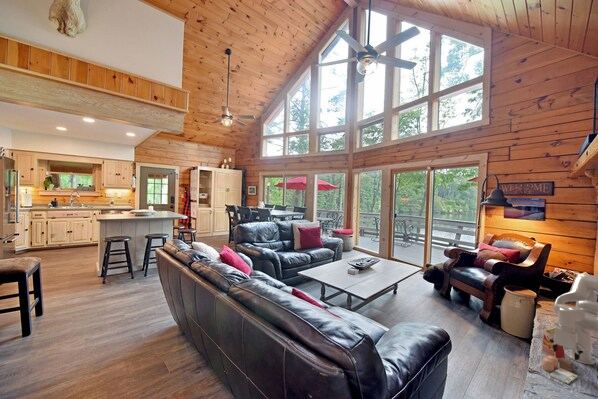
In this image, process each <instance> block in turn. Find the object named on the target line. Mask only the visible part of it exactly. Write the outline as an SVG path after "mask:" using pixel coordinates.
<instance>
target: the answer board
mask: <svg viewBox="0 0 598 399" xmlns="http://www.w3.org/2000/svg"><path fill="white" fill-rule="evenodd" d="M549 376H550V377H552V378H554V379H555V380H558V381H560V382H563V383H564V384H566V383H567V384H566V385H570V384H571V383H572V382H573V381H574V380H576V379H578V378H579V376H578V374H575V373H574V372H573V373H572V371H571V372H569V371H567V370H564V369H562V368H560V367H558V369H557V370H556V369H554V372H550V373H549ZM571 381H572V382H571ZM570 382H571V383H570Z"/></svg>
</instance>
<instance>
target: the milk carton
mask: <svg viewBox="0 0 598 399" xmlns="http://www.w3.org/2000/svg"><path fill="white" fill-rule="evenodd" d="M556 327H557V326H554V327H552V328H548V329H546V330H544V334H543V338H542V343H541V352H542V353H544V355H546V357H547V356H548V355H551V356H554V357H556V358H558V360H560V359H561V358H565V359H567V358H566V354H565V353H566V352H565V348H564V346H561V345H559V344H557V351H556V352H554V349H553V344H552V343H551V341H550V340H549V338H548V336H549V335H554V334H555V329H556ZM552 339H553V341H554V338H552Z"/></svg>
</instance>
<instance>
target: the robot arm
mask: <svg viewBox="0 0 598 399" xmlns="http://www.w3.org/2000/svg"><path fill="white" fill-rule="evenodd" d="M596 292H597V293H598V275H594V274H593V275H592V274H587V273H578V274H576V275H575V278H574V280H573V282H572V285H571V287H570V290H569V291H568V292H565V293H563V294H561V295H559V296H558V297H557V298H556V299H555V301H554V303H553V307H552V310H553V312H554V314H556V315H557V318H558V319H557V322H555V323H554V326H555V327H556V329H555V334H554V335H549V336H548V338H549V340H550V341H551V343H552V344H553V349H554V352H556V351H557V344H559V345H561V346H563V347H565V348H567V349H569V351H568V352H567V353H566V356H567V357H568V358H569V359H571V360H573V361H575V362H578V363H581V364H585V365H592V366H593V365H595V364H596V363H595V362H596V361H595V360H594V359H593V358H592V335H591V334H592V333H590V331H592V332H596V333H598V295H597V293H596ZM568 302H569V303H570V302H575V307H573V306H570V305H567V304H565V303H568ZM589 330H590V331H589ZM552 338H554V341H553V339H552Z"/></svg>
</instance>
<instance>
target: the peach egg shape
mask: <svg viewBox="0 0 598 399" xmlns="http://www.w3.org/2000/svg"><path fill="white" fill-rule="evenodd" d="M546 358H548V359H550V360H552V361H553V362H554V370H557V369H559V359H558V358H556V357H554V356H551V355H548V356H547V355H546Z"/></svg>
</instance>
